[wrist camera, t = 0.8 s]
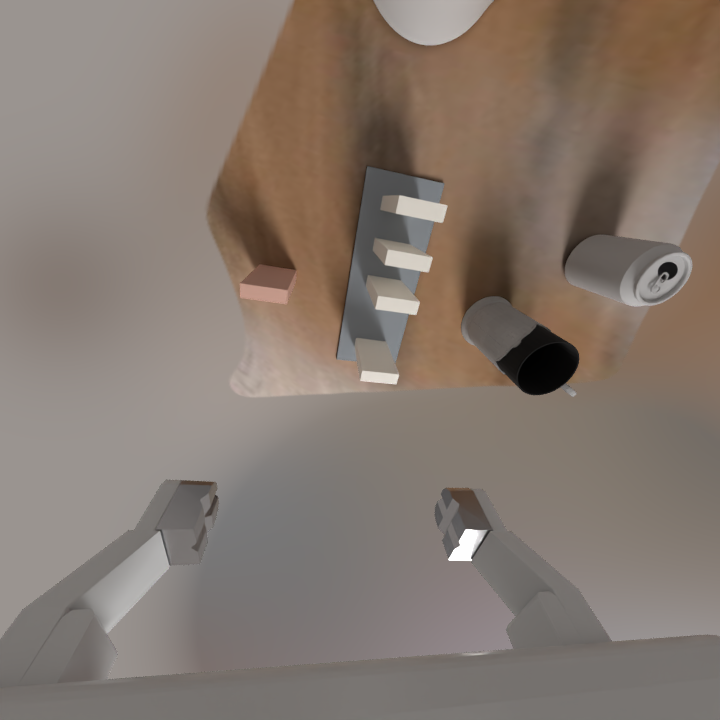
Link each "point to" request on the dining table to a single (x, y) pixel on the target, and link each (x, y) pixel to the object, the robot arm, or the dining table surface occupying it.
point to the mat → (387, 226)
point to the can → (628, 269)
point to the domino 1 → (268, 284)
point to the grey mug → (520, 346)
